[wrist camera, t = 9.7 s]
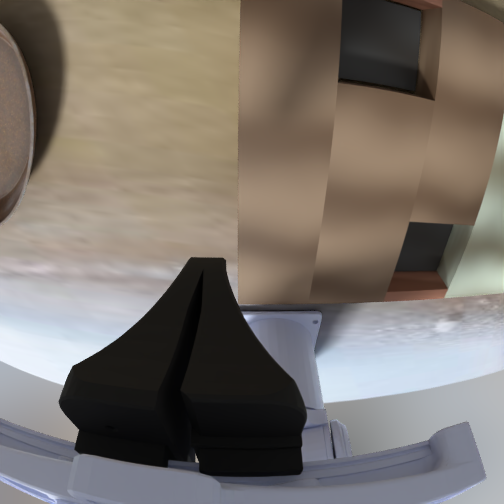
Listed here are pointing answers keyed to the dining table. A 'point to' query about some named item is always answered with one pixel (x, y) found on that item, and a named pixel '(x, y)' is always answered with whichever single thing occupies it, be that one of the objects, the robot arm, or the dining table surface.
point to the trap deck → (369, 151)
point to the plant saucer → (15, 125)
